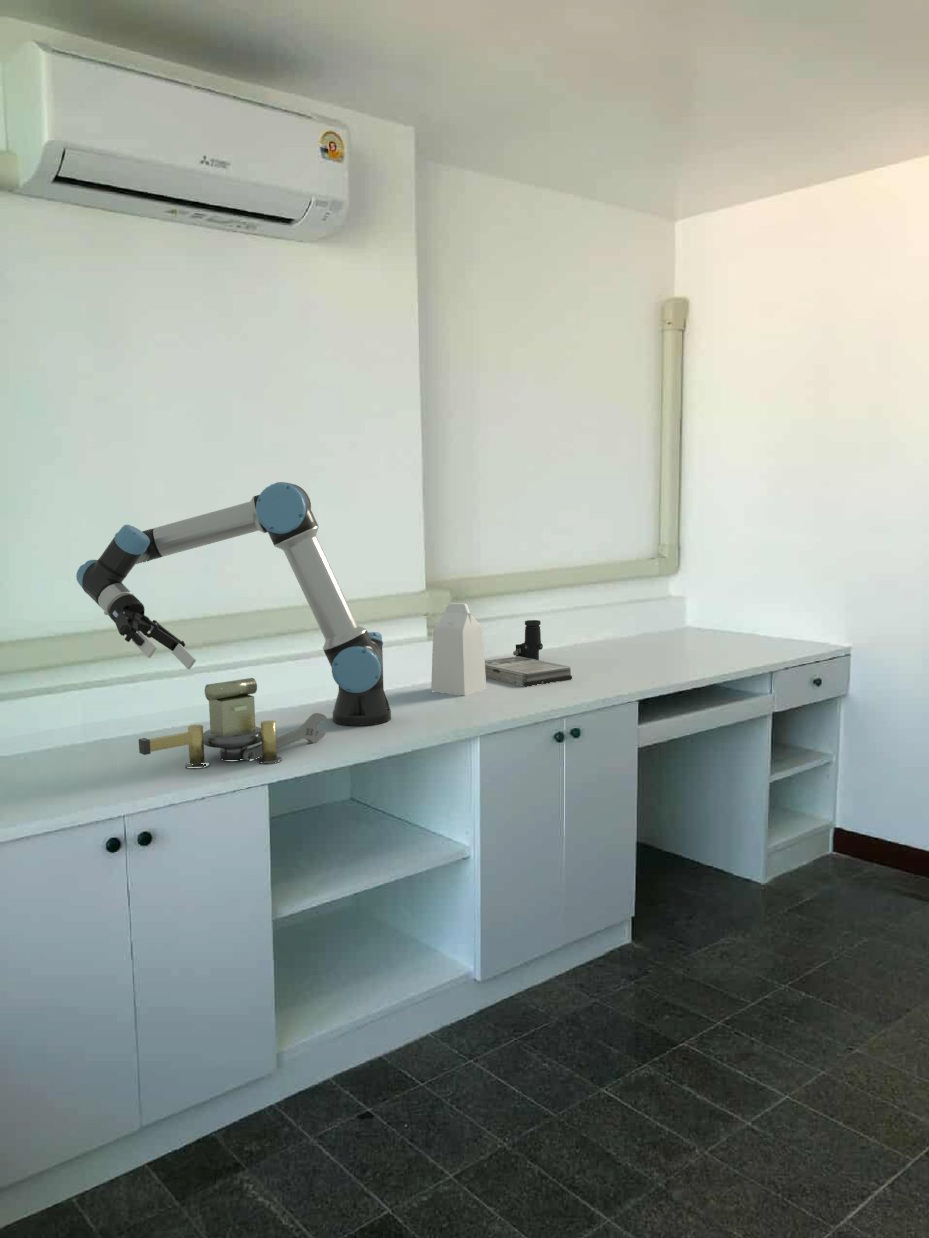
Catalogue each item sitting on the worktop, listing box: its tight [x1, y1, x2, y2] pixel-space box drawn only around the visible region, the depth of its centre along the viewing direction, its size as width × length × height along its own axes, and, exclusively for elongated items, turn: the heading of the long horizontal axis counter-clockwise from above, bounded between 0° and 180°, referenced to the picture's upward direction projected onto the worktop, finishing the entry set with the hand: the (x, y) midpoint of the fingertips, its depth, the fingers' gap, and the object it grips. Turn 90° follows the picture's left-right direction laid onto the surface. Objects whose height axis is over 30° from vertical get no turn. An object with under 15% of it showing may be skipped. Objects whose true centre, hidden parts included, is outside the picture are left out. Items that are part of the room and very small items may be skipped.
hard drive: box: [485, 655, 573, 688], centre depth 320 cm, size 18×27×4 cm
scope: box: [512, 619, 544, 660], centre depth 350 cm, size 8×14×10 cm
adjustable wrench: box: [243, 712, 328, 761], centre depth 234 cm, size 25×6×2 cm
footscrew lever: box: [138, 724, 206, 764], centre depth 218 cm, size 14×3×8 cm, turn 131°
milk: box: [430, 602, 487, 696], centre depth 299 cm, size 12×12×26 cm
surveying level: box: [184, 677, 283, 767], centre depth 225 cm, size 19×21×18 cm
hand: (172, 658), depth 229 cm, fingers open, 13 cm apart
